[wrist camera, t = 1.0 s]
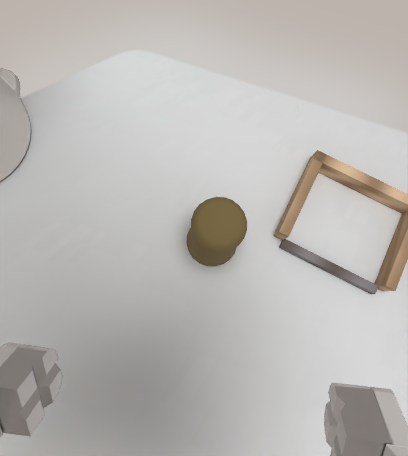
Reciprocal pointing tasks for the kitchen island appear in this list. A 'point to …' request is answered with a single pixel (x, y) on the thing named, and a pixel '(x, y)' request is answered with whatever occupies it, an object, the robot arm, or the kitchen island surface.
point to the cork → (216, 231)
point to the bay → (404, 203)
